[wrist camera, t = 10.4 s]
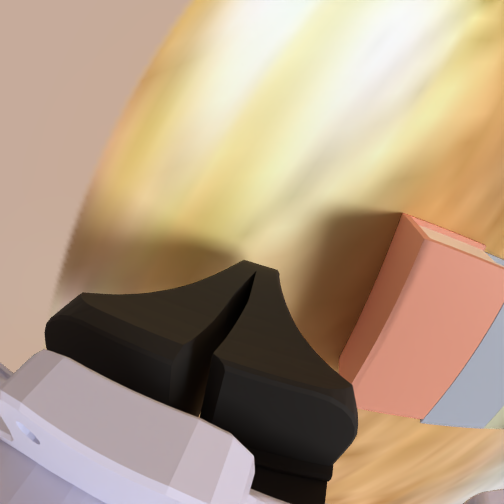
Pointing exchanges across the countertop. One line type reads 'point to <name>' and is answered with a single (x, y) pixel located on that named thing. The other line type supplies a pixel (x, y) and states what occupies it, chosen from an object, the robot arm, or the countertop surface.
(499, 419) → the sage book
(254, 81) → the countertop surface
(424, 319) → the terracotta book
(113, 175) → the countertop surface
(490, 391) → the slate book
